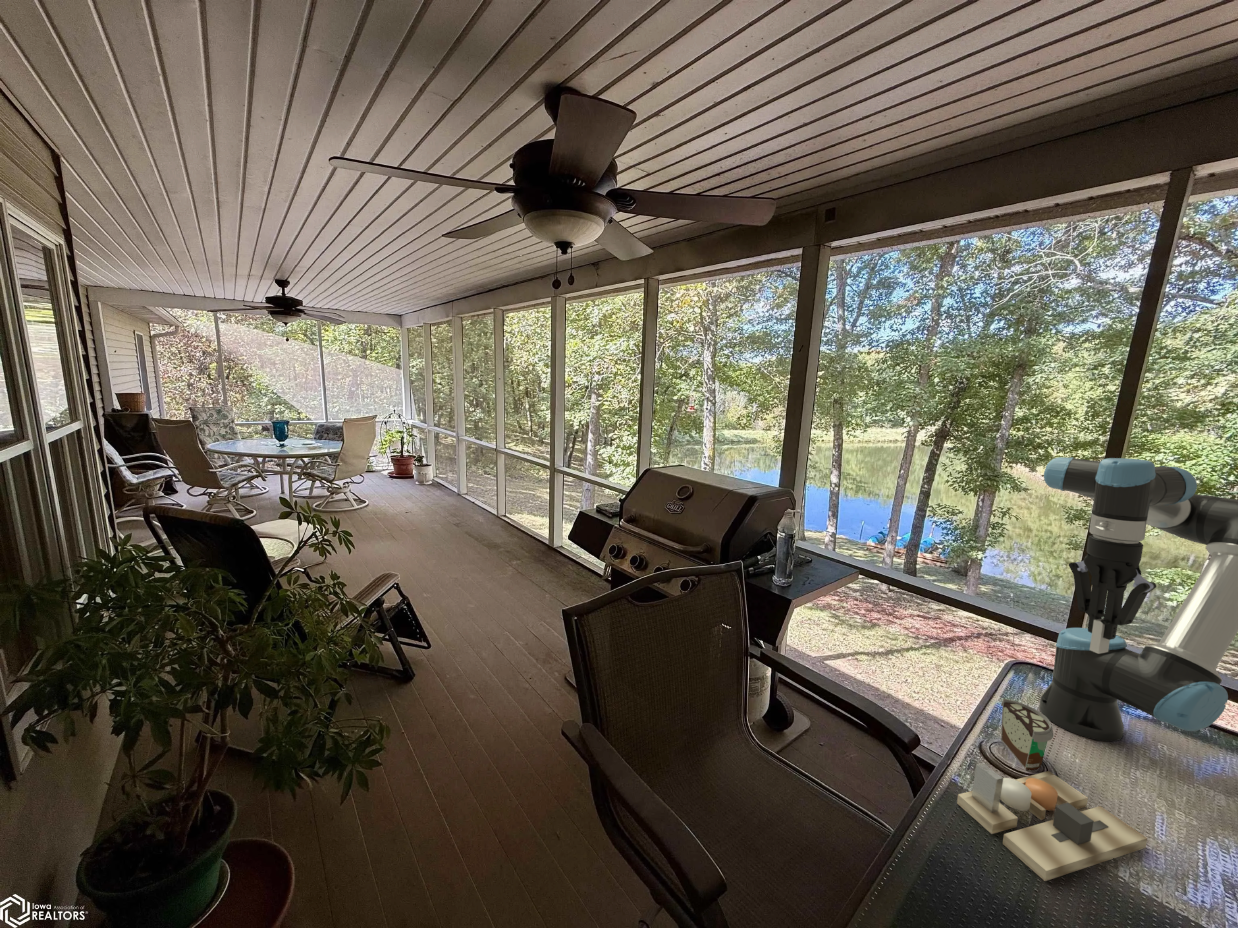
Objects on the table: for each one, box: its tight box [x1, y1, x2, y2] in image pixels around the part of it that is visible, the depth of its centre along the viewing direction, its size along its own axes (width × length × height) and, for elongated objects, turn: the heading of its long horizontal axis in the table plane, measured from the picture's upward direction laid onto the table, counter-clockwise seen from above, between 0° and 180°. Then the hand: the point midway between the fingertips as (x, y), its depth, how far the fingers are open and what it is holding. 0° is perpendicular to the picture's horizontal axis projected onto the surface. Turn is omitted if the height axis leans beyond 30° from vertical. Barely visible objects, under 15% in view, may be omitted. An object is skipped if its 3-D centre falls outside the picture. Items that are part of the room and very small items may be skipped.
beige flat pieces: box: [956, 770, 1148, 882], centre depth 91 cm, size 24×16×2 cm, turn 104°
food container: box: [1000, 698, 1054, 772], centre depth 107 cm, size 12×6×10 cm, turn 168°
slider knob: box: [1053, 803, 1094, 845], centre depth 87 cm, size 3×4×4 cm
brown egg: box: [1025, 778, 1058, 811], centre depth 96 cm, size 5×5×3 cm
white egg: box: [1000, 777, 1031, 812], centre depth 94 cm, size 5×5×3 cm
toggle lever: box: [971, 762, 1004, 813], centre depth 93 cm, size 2×4×7 cm, turn 14°
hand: (1098, 650), depth 97 cm, fingers closed
